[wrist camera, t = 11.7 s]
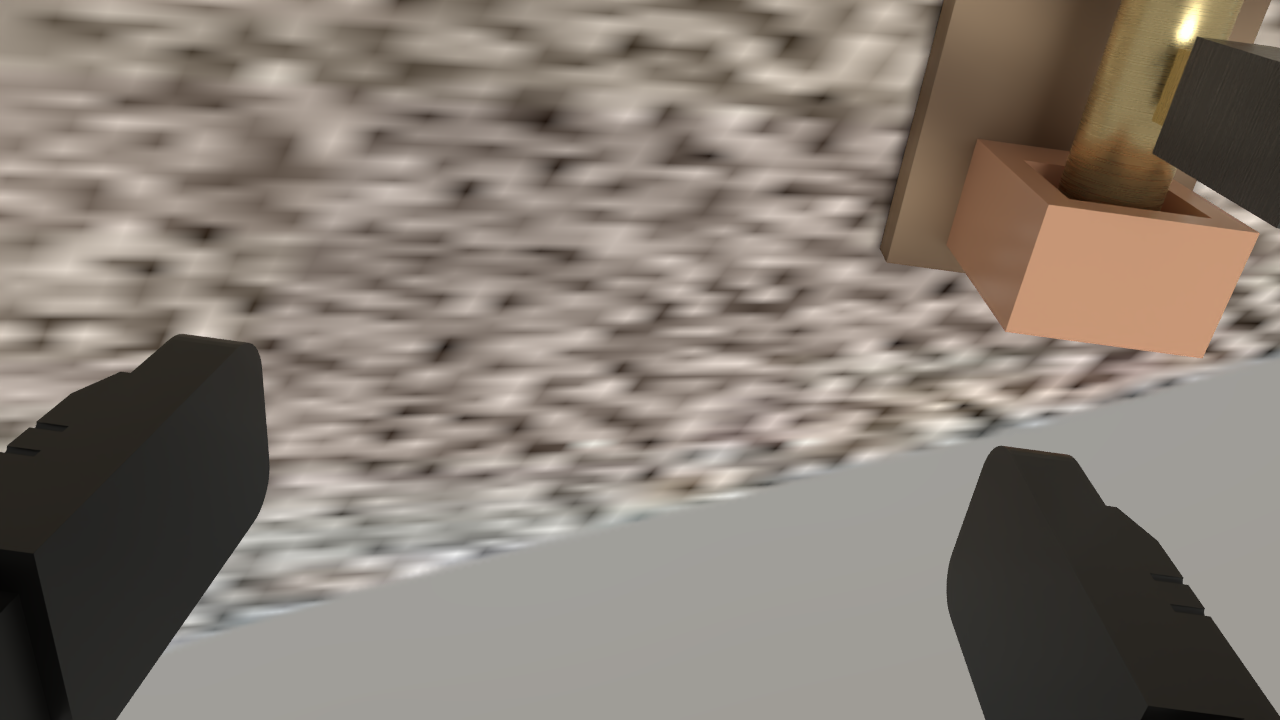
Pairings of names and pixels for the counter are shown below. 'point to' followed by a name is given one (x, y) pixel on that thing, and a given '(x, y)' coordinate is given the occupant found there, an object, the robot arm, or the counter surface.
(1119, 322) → the socket block
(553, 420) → the counter surface
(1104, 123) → the gold and grey t-piece
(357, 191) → the counter surface
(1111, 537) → the robot arm
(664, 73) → the counter surface
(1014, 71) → the sleeve stand
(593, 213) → the counter surface
